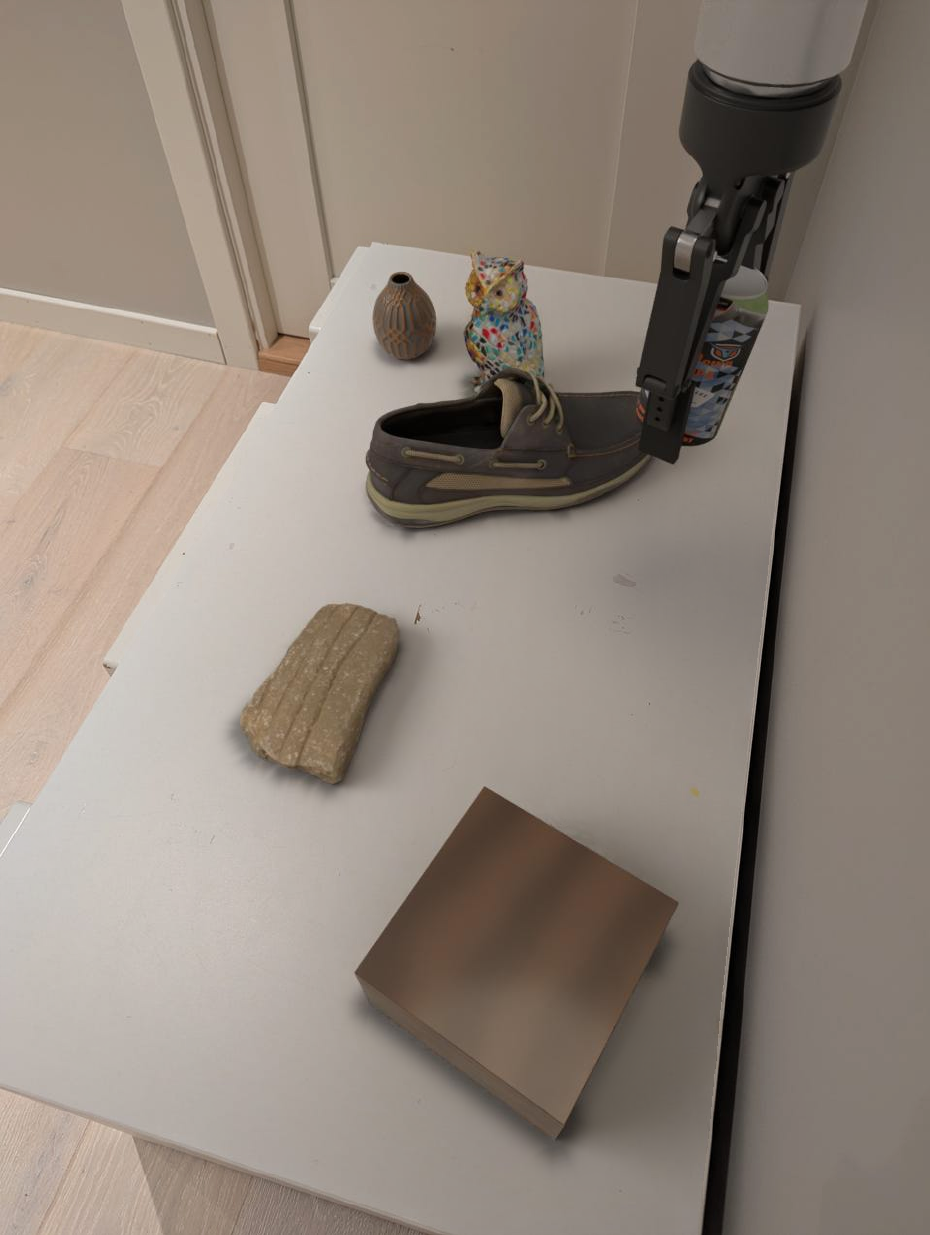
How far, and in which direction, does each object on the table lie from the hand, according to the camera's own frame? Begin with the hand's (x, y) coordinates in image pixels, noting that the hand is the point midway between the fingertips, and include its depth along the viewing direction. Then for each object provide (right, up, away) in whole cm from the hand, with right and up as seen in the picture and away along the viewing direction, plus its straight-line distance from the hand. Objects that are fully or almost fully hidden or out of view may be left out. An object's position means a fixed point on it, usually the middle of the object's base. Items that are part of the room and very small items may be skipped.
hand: (683, 421), depth 61 cm
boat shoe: (-10, -1, +23) cm, 25 cm away
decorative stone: (-27, -20, +9) cm, 35 cm away
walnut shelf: (-12, -38, -4) cm, 40 cm away
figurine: (-11, +10, +31) cm, 35 cm away
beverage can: (0, 0, +1) cm, 1 cm away
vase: (-22, +16, +36) cm, 45 cm away
